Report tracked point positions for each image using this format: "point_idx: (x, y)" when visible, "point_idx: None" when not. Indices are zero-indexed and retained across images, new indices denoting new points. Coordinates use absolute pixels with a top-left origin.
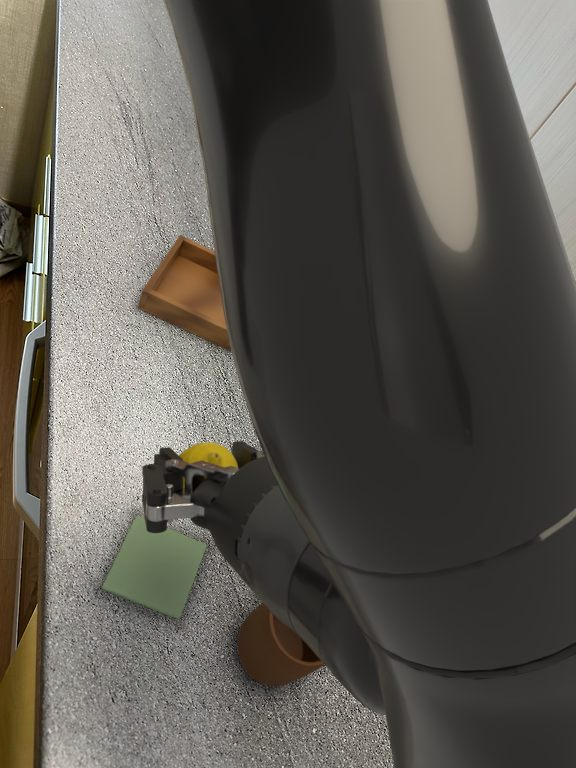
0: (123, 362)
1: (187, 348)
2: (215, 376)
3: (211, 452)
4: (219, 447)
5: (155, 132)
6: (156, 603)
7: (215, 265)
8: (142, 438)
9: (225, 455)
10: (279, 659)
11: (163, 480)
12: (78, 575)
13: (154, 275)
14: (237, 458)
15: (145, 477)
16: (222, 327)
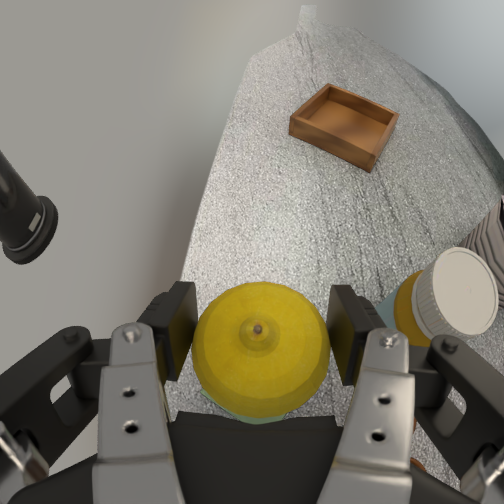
0: (267, 176)
1: (329, 167)
2: (353, 194)
3: (255, 314)
4: (286, 300)
5: (317, 41)
6: (248, 420)
7: (357, 105)
8: (271, 249)
9: (293, 324)
10: None
11: (14, 398)
12: (183, 374)
13: (302, 106)
14: (333, 322)
15: (13, 367)
16: (361, 148)
